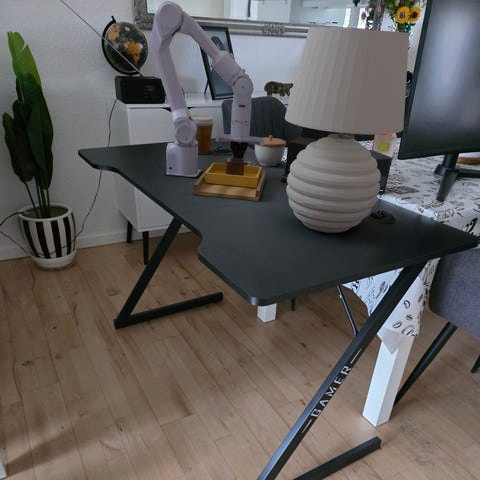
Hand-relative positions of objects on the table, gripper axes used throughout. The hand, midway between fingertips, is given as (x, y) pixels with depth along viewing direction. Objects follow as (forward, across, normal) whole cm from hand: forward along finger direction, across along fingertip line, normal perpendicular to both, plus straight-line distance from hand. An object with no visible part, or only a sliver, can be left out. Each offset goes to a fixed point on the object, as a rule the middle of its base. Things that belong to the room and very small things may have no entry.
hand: (238, 167), depth 140 cm
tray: (+1, 0, -6) cm, 6 cm away
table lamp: (+3, +27, -36) cm, 45 cm away
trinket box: (+3, +8, +19) cm, 21 cm away
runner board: (+3, 0, -12) cm, 12 cm away
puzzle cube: (+3, +51, +51) cm, 72 cm away
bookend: (+3, +23, +7) cm, 24 cm away
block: (+1, 0, -8) cm, 8 cm away
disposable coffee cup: (+3, -18, +27) cm, 33 cm away
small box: (+3, +40, -1) cm, 40 cm away
